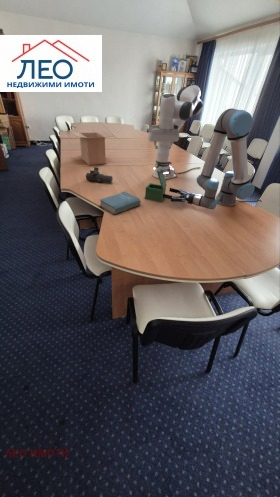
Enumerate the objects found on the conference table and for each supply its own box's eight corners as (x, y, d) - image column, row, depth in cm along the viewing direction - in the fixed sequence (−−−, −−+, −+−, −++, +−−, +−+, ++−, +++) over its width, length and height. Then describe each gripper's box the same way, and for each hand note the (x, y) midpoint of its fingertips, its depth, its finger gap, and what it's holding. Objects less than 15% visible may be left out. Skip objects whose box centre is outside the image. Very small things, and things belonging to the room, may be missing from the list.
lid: (156, 170, 152) (169, 167, 148) (160, 167, 159) (172, 163, 155) (162, 189, 158) (174, 187, 154) (165, 185, 165) (177, 182, 161)
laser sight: (109, 185, 184) (109, 173, 178) (84, 181, 187) (83, 169, 181) (113, 181, 192) (113, 169, 186) (88, 177, 195) (87, 166, 189)
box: (116, 165, 229) (116, 136, 213) (83, 168, 214) (80, 137, 198) (102, 154, 259) (101, 128, 243) (71, 156, 244) (68, 129, 228)
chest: (144, 198, 167) (145, 187, 161) (148, 194, 174) (149, 183, 168) (161, 202, 163) (162, 190, 158) (164, 197, 171) (166, 186, 165)
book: (125, 198, 165) (125, 191, 162) (140, 205, 156) (140, 199, 153) (100, 206, 151) (99, 199, 149) (115, 215, 143) (115, 207, 140)
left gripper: (151, 125, 133) (149, 150, 142) (181, 126, 139) (178, 149, 148) (148, 124, 138) (146, 147, 146) (177, 124, 144) (174, 147, 152)
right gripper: (188, 210, 148) (159, 203, 155) (197, 198, 167) (171, 191, 174) (190, 200, 144) (160, 193, 151) (199, 188, 162) (172, 182, 169)
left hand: (162, 148), depth 147 cm, fingers open, 8 cm apart
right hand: (166, 192), depth 162 cm, fingers open, 13 cm apart
